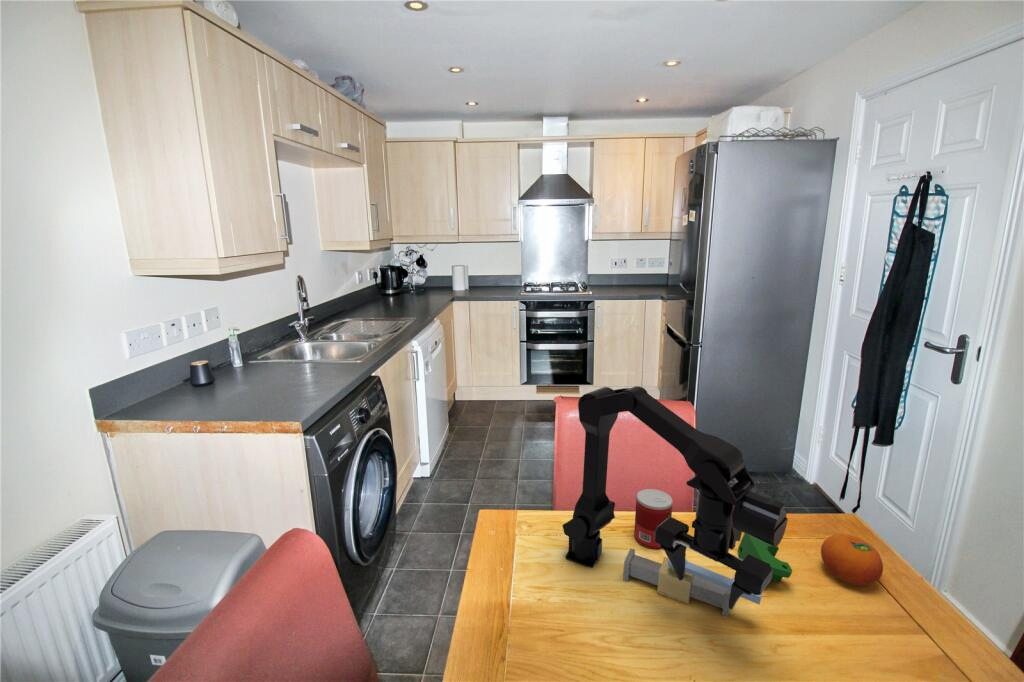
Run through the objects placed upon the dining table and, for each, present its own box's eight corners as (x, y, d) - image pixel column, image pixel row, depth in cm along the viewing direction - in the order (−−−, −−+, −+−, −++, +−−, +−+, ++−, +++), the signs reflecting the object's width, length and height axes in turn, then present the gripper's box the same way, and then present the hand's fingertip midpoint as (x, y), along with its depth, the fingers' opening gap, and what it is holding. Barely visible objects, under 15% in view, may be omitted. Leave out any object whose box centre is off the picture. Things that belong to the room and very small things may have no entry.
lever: (758, 608, 84) (759, 599, 83) (665, 569, 93) (665, 560, 93) (762, 596, 86) (763, 587, 86) (671, 559, 96) (671, 551, 96)
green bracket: (773, 602, 97) (797, 582, 92) (744, 593, 98) (766, 573, 92) (762, 548, 107) (782, 528, 101) (736, 540, 107) (755, 520, 102)
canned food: (673, 550, 107) (677, 507, 104) (638, 549, 107) (641, 507, 104) (663, 529, 114) (666, 488, 112) (630, 528, 114) (633, 488, 112)
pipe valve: (622, 580, 98) (624, 560, 96) (629, 566, 102) (630, 546, 101) (727, 618, 88) (730, 596, 87) (730, 600, 92) (732, 579, 91)
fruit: (806, 564, 102) (811, 532, 100) (841, 554, 105) (847, 522, 103) (854, 600, 92) (861, 565, 90) (891, 587, 95) (899, 553, 93)
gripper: (790, 520, 79) (777, 598, 82) (685, 478, 92) (678, 547, 96) (765, 551, 71) (753, 635, 75) (655, 500, 85) (649, 574, 88)
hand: (705, 593), depth 84 cm, fingers open, 9 cm apart
